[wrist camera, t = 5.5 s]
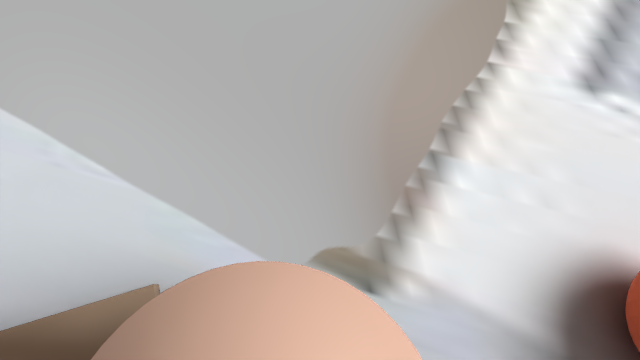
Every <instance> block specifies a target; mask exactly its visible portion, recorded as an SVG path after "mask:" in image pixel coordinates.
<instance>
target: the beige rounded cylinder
mask: <svg viewBox="0 0 640 360" xmlns="http://www.w3.org/2000/svg"><path fill="white" fill-rule="evenodd" d="M91 360H422V358H421V357H420V355H419V353H418V351H417V350H416V348H415V347H414V345H413V344H412V343H411V341H410V340H409V339H408V337H407V336H406V335H405V333H404V332H403V330H402V329H401V328H400V327H399V326H398V325H397V323H396V322H395V321H394V320H393V319H392V318H391V317H390V316H389V315H388V314H387V313H386V312H385V311H384V310H383V309H382V308H381V307H380V306H379V305H377V304H376V303H375V302H374V301H373V300H371V299H370V298H369V297H368V296H366V295H365V294H364V293H362V292H361V291H359V290H358V289H356V288H354V287H353V286H351V285H350V284H348V283H346V282H345V281H343V280H341V279H338V278H336V277H334V276H332V275H330V274H328V273H325V272H323V271H319V270H316V269H313V268H310V267H306V266H303V265H297V264H291V263H285V262H269V261H255V262H246V263H237V264H232V265H227V266H223V267H219V268H215V269H211V270H209V271H206V272H203V273H201V274H198V275H196V276H193V277H190V278H188V279H186V280H184V281H182V282H180V283H178V284H177V285H175V286H173V287H171V288H169V289H167V290H165V291H164V292H162V293H161V294H159V295H158V296H157V297H155V298H154V299H152V300H151V301H149V302H148V303H146V304H145V305H143V306H142V307H141V308H140V309H139V310H138V311H136V312H135V313H134V314H133V315H132V316H131V317H129V318H128V319H127V320H126V321H125V322H124V323H122V325H121V326H120V327H119V328H118V329H117V330H116V331H115V332H114V333H113V334H112V335H111V336H110V337H109V338H108V339H107V340H106V342H105V343H104V344H103V345H102V346H101V347H100V349H99V350H98V351H97V352H96V354H95V355H94V356H93V358H92V359H91Z"/></svg>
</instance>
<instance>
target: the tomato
mask: <svg viewBox="0 0 640 360" xmlns="http://www.w3.org/2000/svg"><path fill="white" fill-rule="evenodd" d="M625 307H626V320H627V325H628V329H629V332H630V334H631V337H632V340H633V342H634V344H635V346H636V347H637V349H638V351H639V353H640V272H639V273H638V274H637V276H636V277H635V278H634V279H633V281H632V283H631V286H630V288H629V291H628V295H627V300H626V306H625Z"/></svg>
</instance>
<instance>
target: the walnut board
mask: <svg viewBox="0 0 640 360" xmlns="http://www.w3.org/2000/svg"><path fill="white" fill-rule="evenodd" d="M159 294H160V290H159V285H158V284H153V285H149V286H146V287H143V288H140V289H136V290H133V291H130V292H127V293H123V294H120V295H117V296H114V297H110V298H107V299H104V300H100V301H97V302H94V303H91V304H87V305H84V306H81V307H78V308H74V309H71V310H68V311H65V312H61V313H58V314H55V315H51V316H48V317H45V318H42V319H38V320H35V321H32V322H29V323H25V324H22V325H19V326H16V327H12V328H9V329H6V330H3V331H0V360H91V359H92V358H93V356H94V355H95V354H96V352H97V351H98V350H99V349H100V347H101V346H102V345H103V344H104V343H105V342H106V340H107V339H108V338H109V337H110V336H111V335H112V334H113V333H114V332H115V331H116V330H117V329H118V328H119V327H120V326H121V325H122V323H124V322H125V321H126V320H127V319H128V318H129V317H131V316H132V315H133V314H134V313H135V312H136V311H138V310H139V309H140V308H141V307H142V306H143V305H145V304H146V303H148V302H149V301H151V300H152V299H154V298H155V297H157V296H158V295H159Z"/></svg>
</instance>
